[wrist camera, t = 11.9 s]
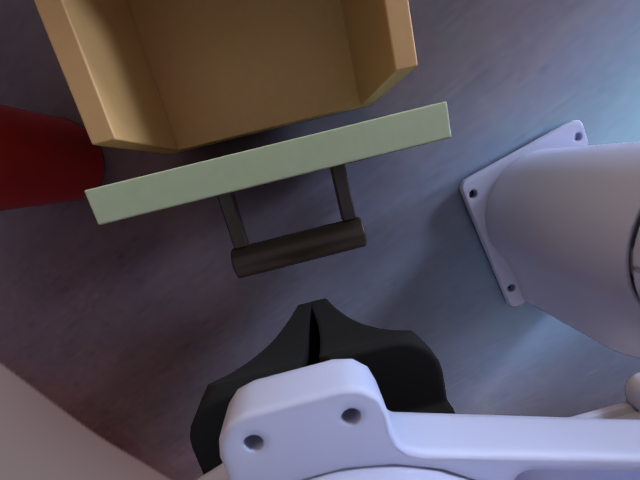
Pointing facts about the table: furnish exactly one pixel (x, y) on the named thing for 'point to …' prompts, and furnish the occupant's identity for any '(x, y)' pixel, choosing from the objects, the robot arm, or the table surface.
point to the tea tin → (44, 160)
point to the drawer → (238, 100)
